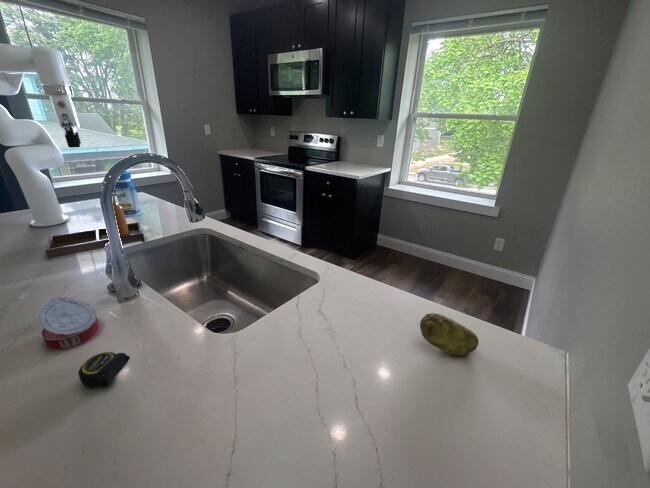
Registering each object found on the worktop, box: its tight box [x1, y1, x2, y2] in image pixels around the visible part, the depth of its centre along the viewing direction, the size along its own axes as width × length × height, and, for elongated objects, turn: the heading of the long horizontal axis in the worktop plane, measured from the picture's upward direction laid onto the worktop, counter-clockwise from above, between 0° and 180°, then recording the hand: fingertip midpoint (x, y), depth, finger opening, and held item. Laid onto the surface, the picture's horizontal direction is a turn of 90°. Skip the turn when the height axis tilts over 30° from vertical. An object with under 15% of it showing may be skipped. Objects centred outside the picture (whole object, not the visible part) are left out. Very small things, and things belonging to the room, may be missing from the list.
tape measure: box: [77, 351, 131, 389], centre depth 58 cm, size 7×7×4 cm
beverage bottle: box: [114, 170, 142, 217], centre depth 138 cm, size 8×8×20 cm
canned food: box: [38, 296, 101, 351], centre depth 68 cm, size 11×10×10 cm
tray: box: [45, 221, 146, 259], centre depth 112 cm, size 14×28×4 cm, turn 126°
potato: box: [419, 312, 479, 356], centre depth 68 cm, size 8×13×8 cm, turn 63°
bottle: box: [112, 192, 130, 236], centre depth 112 cm, size 6×6×18 cm
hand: (75, 145), depth 106 cm, fingers open, 9 cm apart
